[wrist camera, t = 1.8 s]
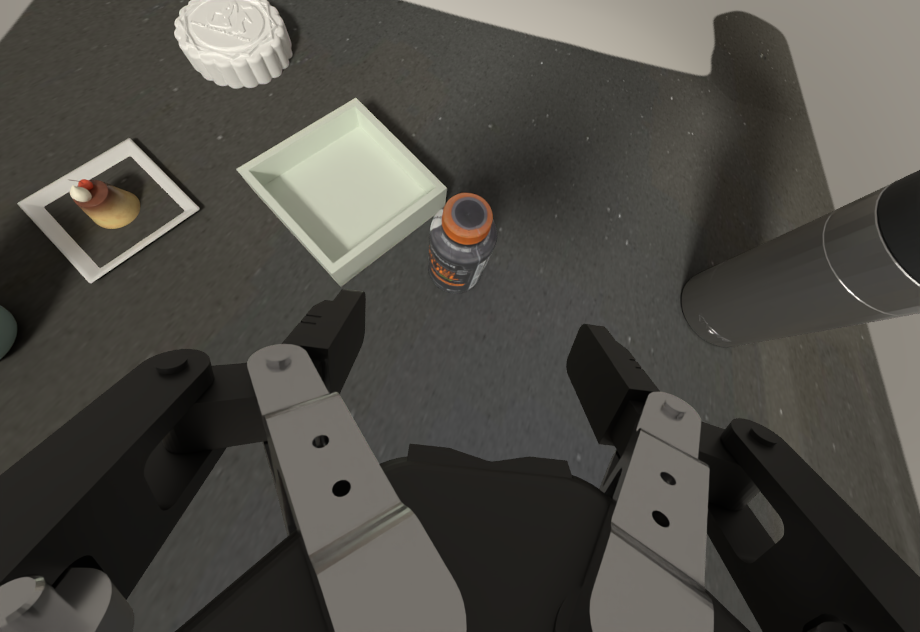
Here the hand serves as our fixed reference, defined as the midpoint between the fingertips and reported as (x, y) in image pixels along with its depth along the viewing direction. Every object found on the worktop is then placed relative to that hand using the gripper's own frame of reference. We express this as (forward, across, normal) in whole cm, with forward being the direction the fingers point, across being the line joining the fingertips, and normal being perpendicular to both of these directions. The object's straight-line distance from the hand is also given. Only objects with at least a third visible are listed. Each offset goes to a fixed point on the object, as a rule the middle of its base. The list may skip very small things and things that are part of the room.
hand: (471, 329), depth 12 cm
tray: (+29, +12, +2) cm, 31 cm away
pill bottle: (+24, 0, +7) cm, 25 cm away
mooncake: (+42, +30, -10) cm, 52 cm away
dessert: (+25, +36, +7) cm, 44 cm away
